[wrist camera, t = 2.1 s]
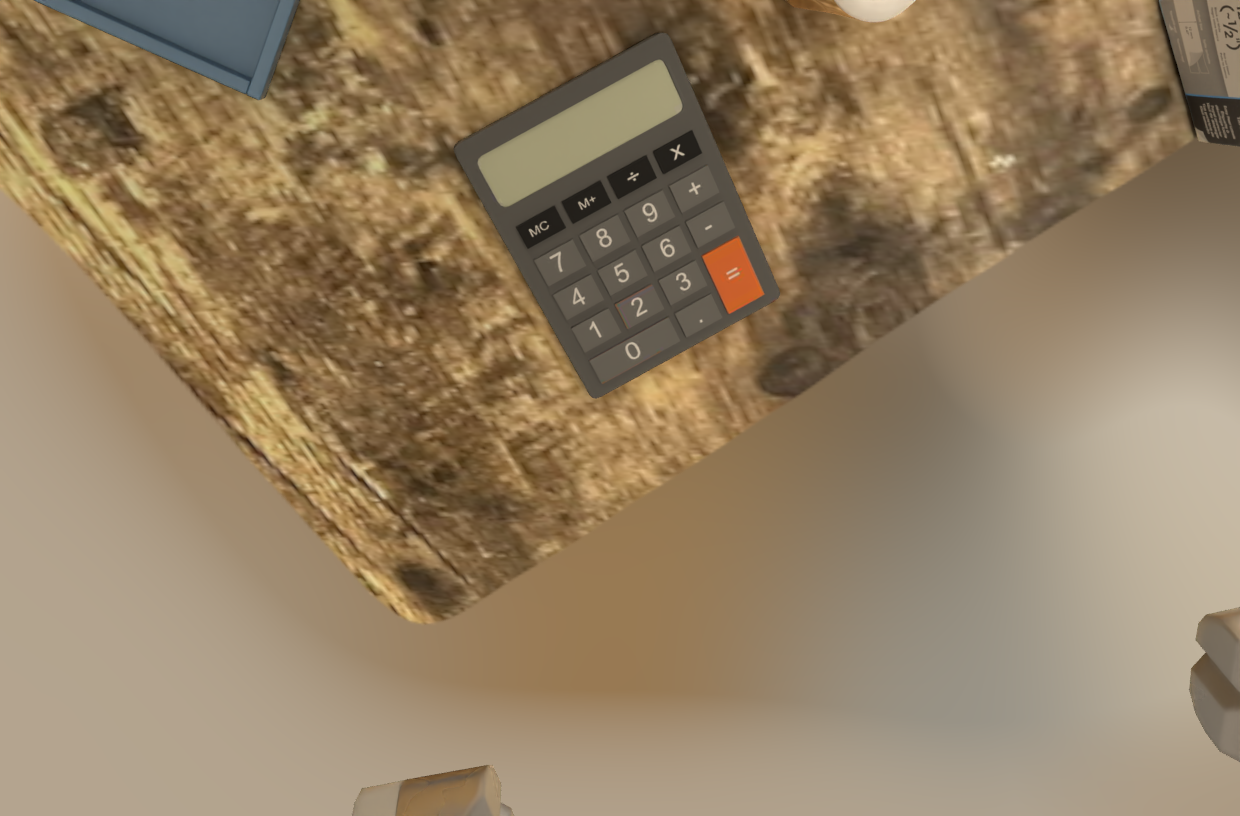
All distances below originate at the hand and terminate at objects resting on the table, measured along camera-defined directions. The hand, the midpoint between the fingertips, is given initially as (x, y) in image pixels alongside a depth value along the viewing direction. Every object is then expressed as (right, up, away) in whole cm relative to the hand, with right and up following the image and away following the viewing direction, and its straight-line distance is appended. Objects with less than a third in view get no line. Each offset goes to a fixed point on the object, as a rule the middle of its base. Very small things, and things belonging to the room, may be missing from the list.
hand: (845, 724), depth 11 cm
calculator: (-2, +13, +38) cm, 41 cm away
